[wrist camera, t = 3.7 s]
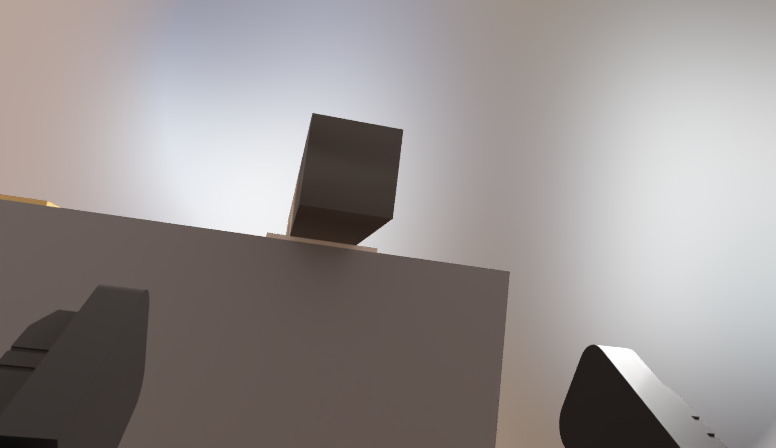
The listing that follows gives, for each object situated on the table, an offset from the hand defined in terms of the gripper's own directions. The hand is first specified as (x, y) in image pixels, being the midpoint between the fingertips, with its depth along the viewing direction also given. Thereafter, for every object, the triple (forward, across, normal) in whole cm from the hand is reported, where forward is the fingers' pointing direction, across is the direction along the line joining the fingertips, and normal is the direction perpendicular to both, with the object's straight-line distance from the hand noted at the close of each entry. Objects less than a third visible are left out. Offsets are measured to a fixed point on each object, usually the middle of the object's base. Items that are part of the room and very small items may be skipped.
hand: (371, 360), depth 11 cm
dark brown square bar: (+18, 0, +6) cm, 19 cm away
